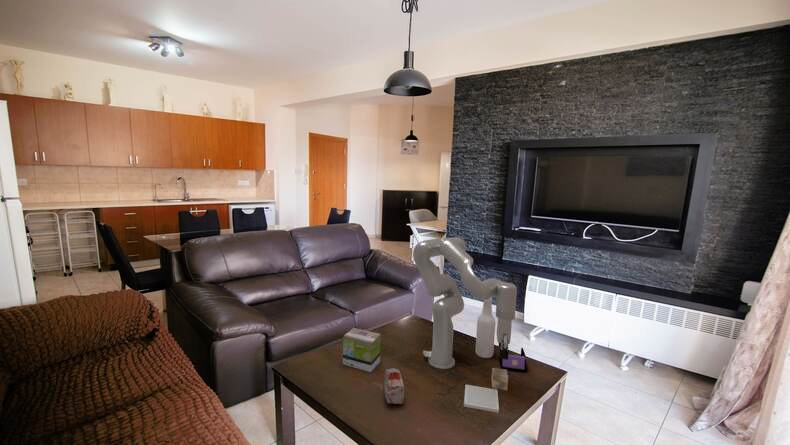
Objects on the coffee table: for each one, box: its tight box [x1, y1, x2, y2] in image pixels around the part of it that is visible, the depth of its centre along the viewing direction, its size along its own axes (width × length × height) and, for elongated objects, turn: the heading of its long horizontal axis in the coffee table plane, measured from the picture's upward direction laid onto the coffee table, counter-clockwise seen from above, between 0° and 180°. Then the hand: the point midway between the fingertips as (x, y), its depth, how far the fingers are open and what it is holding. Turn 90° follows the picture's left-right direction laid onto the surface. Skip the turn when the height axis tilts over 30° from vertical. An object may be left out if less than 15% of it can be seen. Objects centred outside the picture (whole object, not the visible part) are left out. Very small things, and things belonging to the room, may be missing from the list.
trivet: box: [463, 384, 500, 414], centre depth 139 cm, size 13×13×1 cm
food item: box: [383, 368, 406, 405], centre depth 139 cm, size 14×8×10 cm, turn 10°
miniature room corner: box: [498, 347, 528, 373], centre depth 166 cm, size 12×12×7 cm
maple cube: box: [490, 367, 509, 391], centre depth 148 cm, size 6×6×6 cm
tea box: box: [342, 327, 382, 373], centre depth 161 cm, size 15×10×15 cm, turn 68°
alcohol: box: [475, 297, 496, 359], centre depth 173 cm, size 9×9×30 cm
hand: (503, 353), depth 143 cm, fingers open, 9 cm apart
